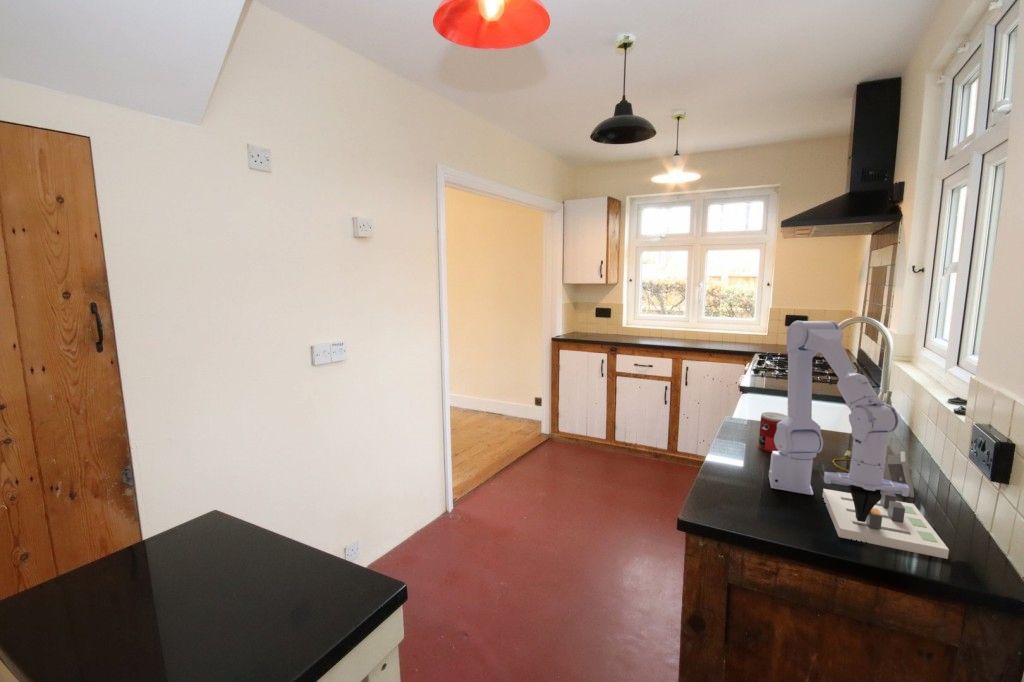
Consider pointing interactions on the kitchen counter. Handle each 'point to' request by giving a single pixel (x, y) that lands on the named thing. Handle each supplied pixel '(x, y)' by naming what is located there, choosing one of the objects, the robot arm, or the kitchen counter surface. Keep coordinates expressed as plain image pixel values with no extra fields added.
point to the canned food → (769, 430)
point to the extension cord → (847, 456)
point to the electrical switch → (901, 471)
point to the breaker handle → (874, 519)
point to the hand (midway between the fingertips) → (860, 519)
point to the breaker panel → (885, 524)
